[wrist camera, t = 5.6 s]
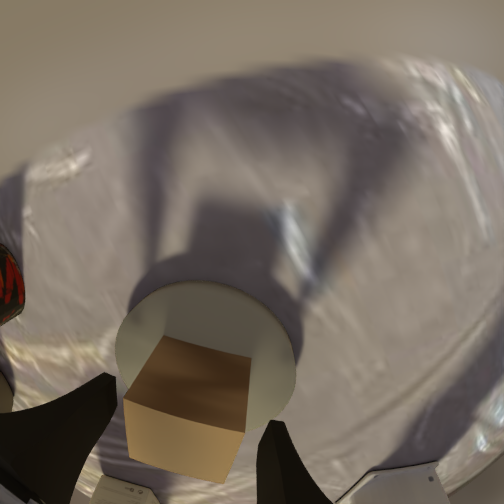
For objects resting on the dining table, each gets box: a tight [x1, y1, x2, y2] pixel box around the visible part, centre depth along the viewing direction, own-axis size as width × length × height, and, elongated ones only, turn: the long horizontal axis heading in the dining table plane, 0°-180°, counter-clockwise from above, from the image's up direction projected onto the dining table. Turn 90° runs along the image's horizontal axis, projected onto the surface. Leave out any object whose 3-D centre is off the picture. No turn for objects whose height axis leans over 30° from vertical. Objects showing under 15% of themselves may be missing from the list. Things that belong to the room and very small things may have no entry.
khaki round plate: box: [115, 280, 296, 432], centre depth 14 cm, size 10×10×2 cm
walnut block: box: [123, 335, 251, 484], centre depth 11 cm, size 4×4×5 cm
